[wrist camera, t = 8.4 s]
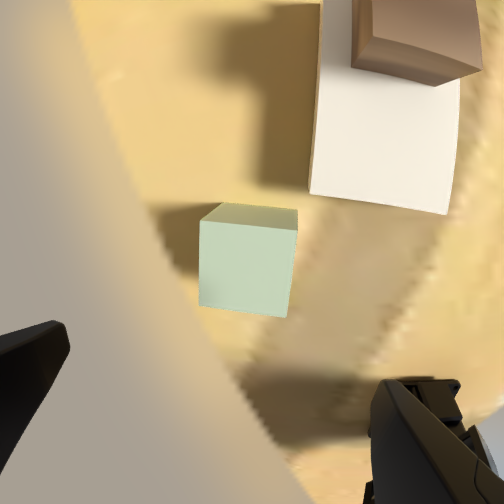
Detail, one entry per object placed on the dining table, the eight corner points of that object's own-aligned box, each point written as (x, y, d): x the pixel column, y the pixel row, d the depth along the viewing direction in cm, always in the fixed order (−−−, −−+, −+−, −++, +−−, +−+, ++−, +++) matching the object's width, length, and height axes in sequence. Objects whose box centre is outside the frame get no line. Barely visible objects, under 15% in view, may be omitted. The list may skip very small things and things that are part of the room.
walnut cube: (435, 87, 11) (482, 69, 7) (350, 67, 12) (372, 35, 7) (432, 14, 10) (471, -20, 6) (351, -7, 10) (368, -54, 6)
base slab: (425, 203, 16) (446, 215, 13) (307, 185, 17) (309, 193, 14) (434, 28, 12) (455, 12, 9) (320, 2, 13) (323, -21, 10)
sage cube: (289, 279, 19) (286, 317, 14) (220, 270, 19) (198, 305, 15) (297, 209, 17) (297, 230, 13) (223, 202, 18) (199, 220, 14)
